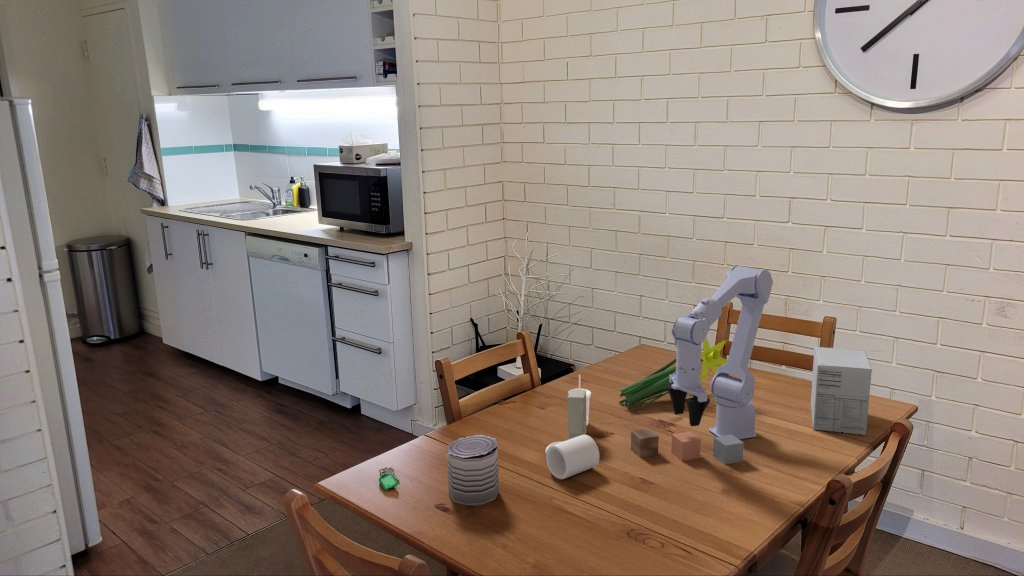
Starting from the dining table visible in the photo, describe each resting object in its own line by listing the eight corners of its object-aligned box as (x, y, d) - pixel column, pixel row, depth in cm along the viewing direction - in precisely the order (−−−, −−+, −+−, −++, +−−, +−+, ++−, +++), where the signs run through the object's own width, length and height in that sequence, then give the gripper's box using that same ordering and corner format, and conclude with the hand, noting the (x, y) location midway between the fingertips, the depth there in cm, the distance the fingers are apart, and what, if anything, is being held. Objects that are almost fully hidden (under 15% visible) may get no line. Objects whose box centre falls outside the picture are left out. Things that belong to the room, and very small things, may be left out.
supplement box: (867, 436, 194) (873, 369, 190) (812, 430, 198) (816, 365, 194) (860, 411, 210) (865, 349, 206) (809, 406, 214) (813, 345, 210)
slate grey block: (730, 453, 186) (731, 434, 185) (742, 461, 181) (743, 442, 180) (713, 456, 185) (713, 437, 183) (724, 465, 180) (725, 445, 179)
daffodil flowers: (607, 398, 226) (703, 353, 236) (634, 436, 217) (733, 388, 227) (611, 365, 213) (712, 319, 223) (639, 404, 204) (743, 355, 214)
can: (480, 510, 161) (478, 459, 159) (438, 497, 167) (435, 447, 164) (508, 488, 171) (507, 439, 168) (467, 476, 177) (466, 429, 174)
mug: (599, 472, 178) (600, 440, 176) (567, 484, 172) (567, 452, 170) (566, 454, 187) (566, 424, 185) (535, 466, 181) (534, 435, 180)
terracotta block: (689, 449, 188) (689, 431, 187) (699, 458, 184) (700, 439, 182) (671, 452, 187) (671, 434, 186) (681, 461, 182) (682, 442, 181)
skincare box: (584, 442, 194) (584, 398, 191) (567, 441, 194) (566, 397, 192) (586, 432, 200) (586, 389, 197) (570, 431, 200) (570, 388, 198)
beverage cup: (565, 426, 204) (565, 377, 201) (572, 417, 209) (572, 370, 206) (587, 429, 202) (587, 379, 199) (593, 420, 207) (593, 372, 204)
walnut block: (648, 446, 191) (649, 428, 189) (658, 454, 186) (658, 436, 185) (630, 449, 189) (631, 431, 188) (639, 458, 184) (640, 439, 183)
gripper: (658, 359, 186) (657, 410, 189) (689, 378, 172) (687, 433, 175) (684, 356, 188) (682, 407, 191) (716, 374, 174) (713, 429, 177)
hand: (686, 419), depth 183 cm, fingers open, 7 cm apart
